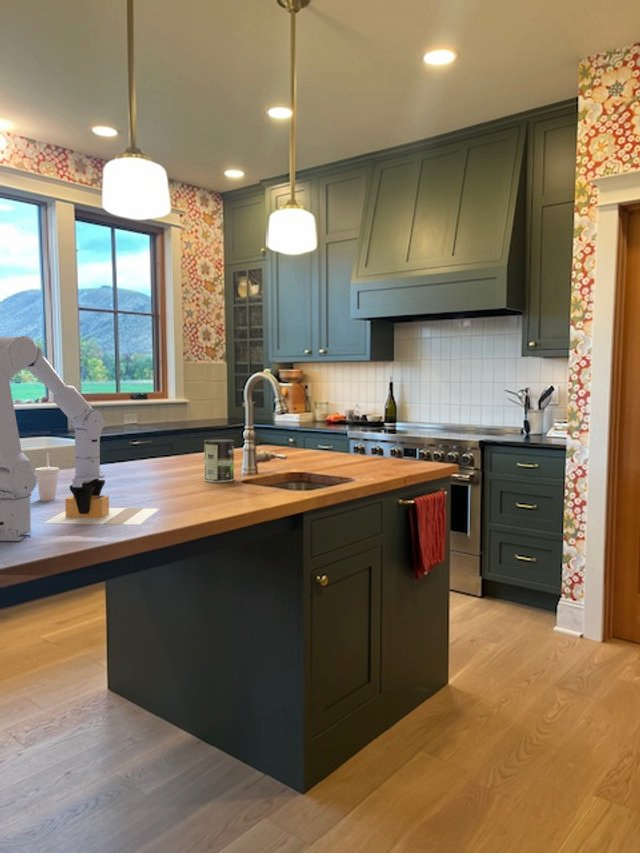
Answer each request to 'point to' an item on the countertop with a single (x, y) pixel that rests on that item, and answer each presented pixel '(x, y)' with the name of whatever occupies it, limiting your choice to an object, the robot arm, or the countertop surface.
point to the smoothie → (47, 481)
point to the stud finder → (97, 507)
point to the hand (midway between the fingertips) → (88, 511)
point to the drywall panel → (109, 517)
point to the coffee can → (219, 460)
